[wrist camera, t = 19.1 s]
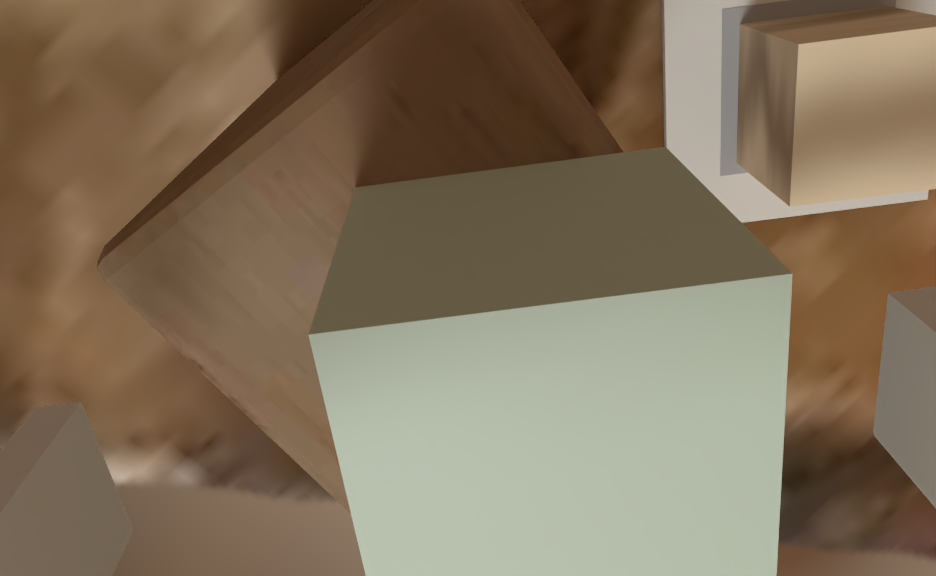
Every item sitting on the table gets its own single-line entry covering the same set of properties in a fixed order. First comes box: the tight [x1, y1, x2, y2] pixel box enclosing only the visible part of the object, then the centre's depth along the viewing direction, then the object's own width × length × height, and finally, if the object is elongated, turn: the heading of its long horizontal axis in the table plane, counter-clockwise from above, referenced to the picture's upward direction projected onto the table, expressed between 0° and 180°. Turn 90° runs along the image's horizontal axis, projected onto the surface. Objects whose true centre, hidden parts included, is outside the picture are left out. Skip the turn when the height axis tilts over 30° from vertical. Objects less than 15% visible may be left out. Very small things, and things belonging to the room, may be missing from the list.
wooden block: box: [97, 0, 623, 514], centre depth 26 cm, size 10×10×20 cm
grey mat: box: [662, 0, 936, 223], centre depth 34 cm, size 12×12×1 cm
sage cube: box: [308, 147, 792, 576], centre depth 14 cm, size 6×6×6 cm
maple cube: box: [736, 6, 936, 207], centre depth 32 cm, size 6×6×6 cm
